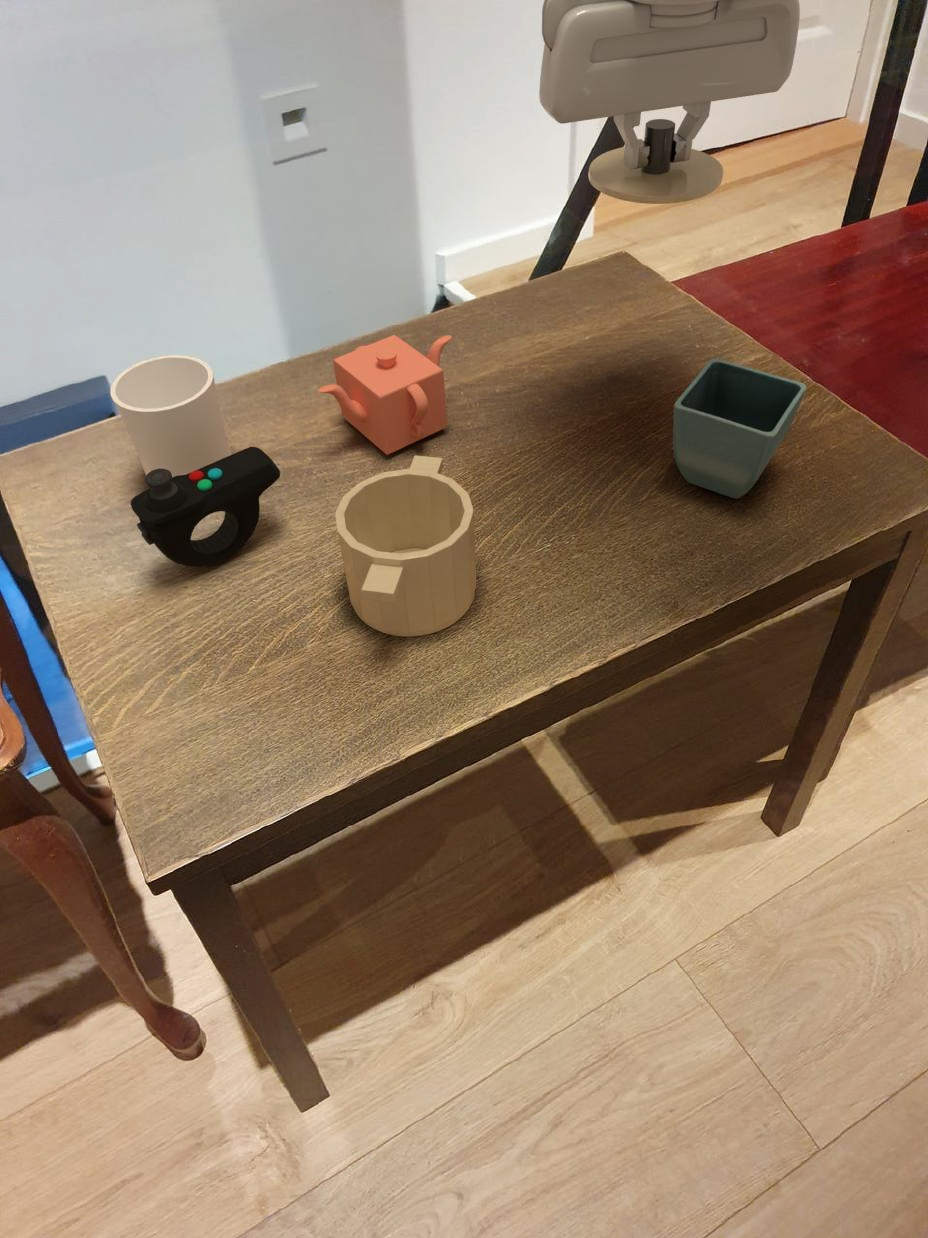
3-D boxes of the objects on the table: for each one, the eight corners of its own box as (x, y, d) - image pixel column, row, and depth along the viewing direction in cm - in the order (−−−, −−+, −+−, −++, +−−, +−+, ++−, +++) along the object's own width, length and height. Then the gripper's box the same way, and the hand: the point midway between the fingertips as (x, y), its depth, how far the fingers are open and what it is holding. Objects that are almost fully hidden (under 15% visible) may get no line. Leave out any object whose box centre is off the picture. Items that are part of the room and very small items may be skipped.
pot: (491, 533, 78) (490, 455, 72) (454, 671, 68) (448, 593, 62) (378, 520, 80) (367, 443, 74) (324, 653, 70) (305, 576, 63)
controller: (151, 568, 77) (113, 477, 70) (275, 507, 82) (252, 416, 74) (173, 596, 75) (136, 504, 67) (299, 531, 79) (278, 439, 72)
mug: (255, 479, 85) (230, 385, 77) (169, 518, 81) (134, 424, 74) (204, 427, 91) (177, 335, 83) (122, 462, 87) (85, 369, 80)
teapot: (300, 427, 90) (285, 354, 84) (422, 375, 96) (416, 302, 90) (362, 485, 83) (350, 410, 77) (489, 425, 89) (488, 350, 83)
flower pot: (785, 466, 83) (809, 382, 76) (751, 520, 78) (774, 436, 72) (696, 438, 86) (712, 355, 80) (658, 488, 82) (672, 405, 75)
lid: (722, 160, 79) (732, 101, 75) (719, 214, 72) (729, 152, 68) (596, 155, 81) (599, 98, 77) (580, 208, 73) (583, 147, 70)
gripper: (557, -11, 61) (552, 196, 71) (826, -45, 64) (784, 158, 74) (528, -31, 65) (527, 167, 75) (782, -62, 68) (748, 132, 78)
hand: (656, 162), depth 75 cm, fingers closed on lid, 2 cm apart
